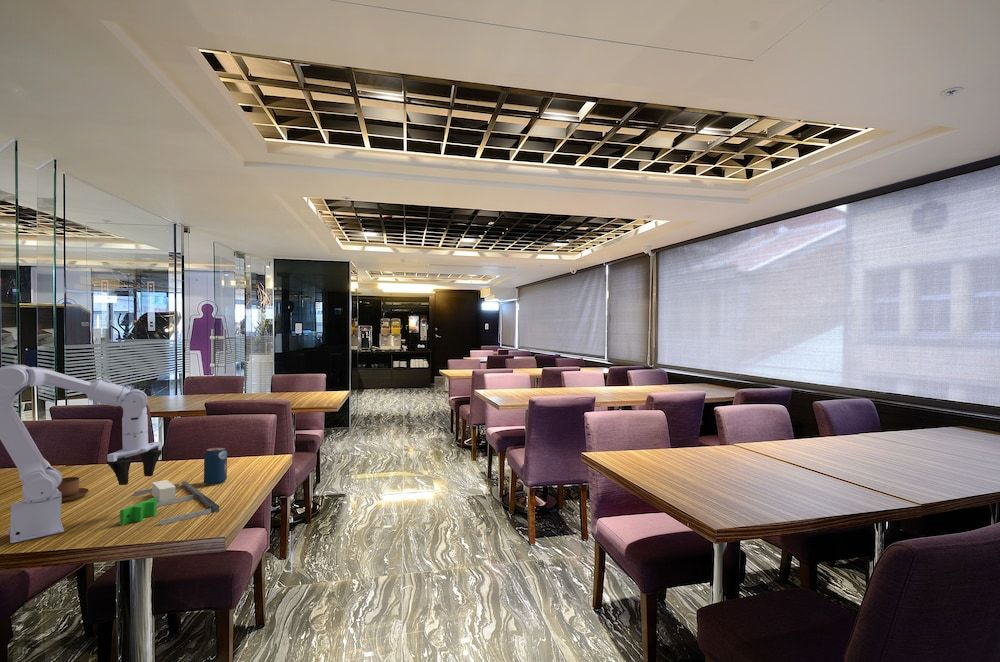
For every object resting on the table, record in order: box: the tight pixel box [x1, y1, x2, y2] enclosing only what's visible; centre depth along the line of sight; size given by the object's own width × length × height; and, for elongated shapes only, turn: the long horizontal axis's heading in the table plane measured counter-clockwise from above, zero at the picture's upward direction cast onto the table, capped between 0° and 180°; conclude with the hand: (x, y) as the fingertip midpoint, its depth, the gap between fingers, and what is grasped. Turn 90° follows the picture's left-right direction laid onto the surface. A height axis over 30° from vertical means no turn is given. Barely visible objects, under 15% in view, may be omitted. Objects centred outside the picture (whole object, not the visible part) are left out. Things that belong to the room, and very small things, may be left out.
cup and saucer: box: [57, 476, 90, 503], centre depth 144 cm, size 12×12×6 cm
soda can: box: [203, 446, 228, 486], centre depth 161 cm, size 7×7×12 cm
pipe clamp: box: [119, 497, 158, 526], centre depth 128 cm, size 10×4×4 cm, turn 173°
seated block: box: [151, 479, 177, 502], centre depth 146 cm, size 4×11×4 cm, turn 47°
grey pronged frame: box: [133, 480, 220, 526], centre depth 140 cm, size 14×37×2 cm, turn 47°
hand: (136, 480), depth 130 cm, fingers open, 7 cm apart
